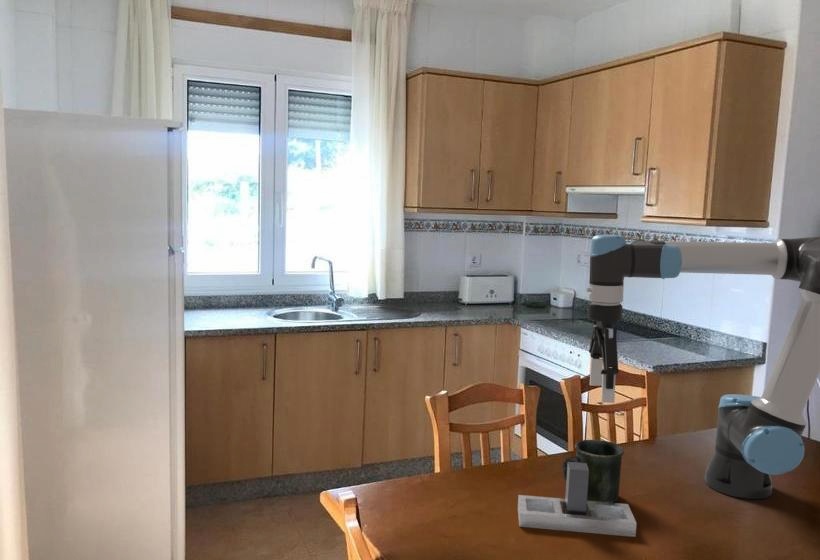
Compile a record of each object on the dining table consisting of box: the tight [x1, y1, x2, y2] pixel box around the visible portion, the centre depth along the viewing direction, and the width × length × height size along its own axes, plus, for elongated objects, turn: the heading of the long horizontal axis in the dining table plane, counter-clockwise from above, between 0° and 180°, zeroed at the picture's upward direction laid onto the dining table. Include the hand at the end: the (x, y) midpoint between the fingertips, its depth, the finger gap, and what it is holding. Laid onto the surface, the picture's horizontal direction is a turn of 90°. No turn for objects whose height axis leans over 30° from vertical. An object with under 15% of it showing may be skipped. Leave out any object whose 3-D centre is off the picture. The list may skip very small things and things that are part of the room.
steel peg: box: [564, 462, 589, 516], centre depth 147 cm, size 4×4×12 cm
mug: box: [561, 439, 625, 503], centre depth 160 cm, size 11×15×12 cm
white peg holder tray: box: [517, 494, 638, 538], centre depth 147 cm, size 24×9×3 cm, turn 83°
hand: (601, 393), depth 157 cm, fingers open, 13 cm apart
